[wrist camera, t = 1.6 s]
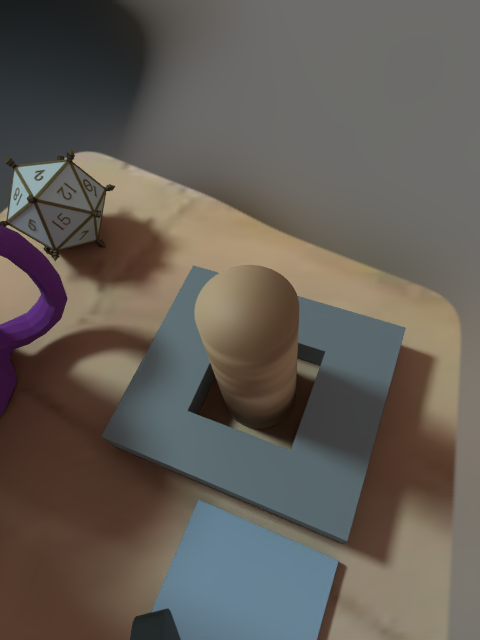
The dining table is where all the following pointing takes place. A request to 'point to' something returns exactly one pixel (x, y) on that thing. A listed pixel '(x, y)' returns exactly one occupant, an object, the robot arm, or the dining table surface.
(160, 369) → the board
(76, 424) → the dining table surface
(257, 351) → the peg
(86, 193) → the game die
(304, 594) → the pad
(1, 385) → the mug
